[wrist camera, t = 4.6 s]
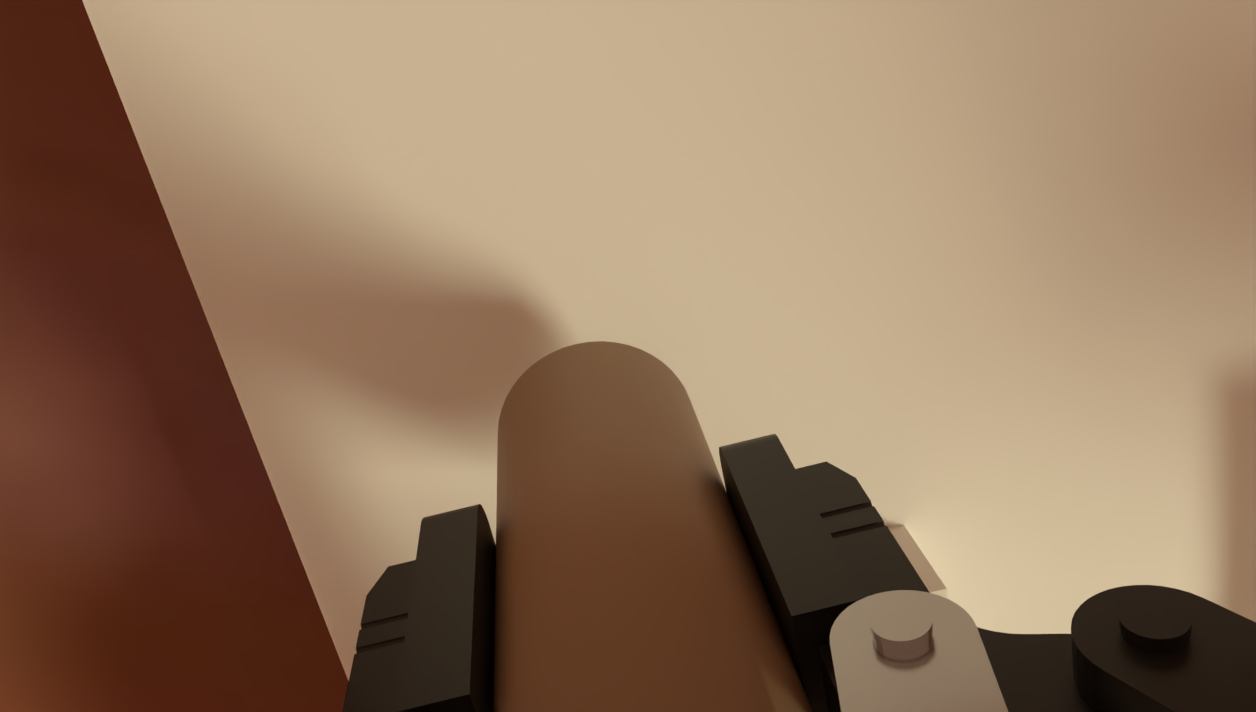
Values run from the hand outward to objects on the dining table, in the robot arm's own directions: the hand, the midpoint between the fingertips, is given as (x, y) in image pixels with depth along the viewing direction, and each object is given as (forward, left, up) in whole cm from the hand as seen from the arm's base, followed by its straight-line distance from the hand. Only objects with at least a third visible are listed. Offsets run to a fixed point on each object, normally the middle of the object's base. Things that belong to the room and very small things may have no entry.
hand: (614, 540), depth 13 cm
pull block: (+6, 0, -5) cm, 8 cm away
